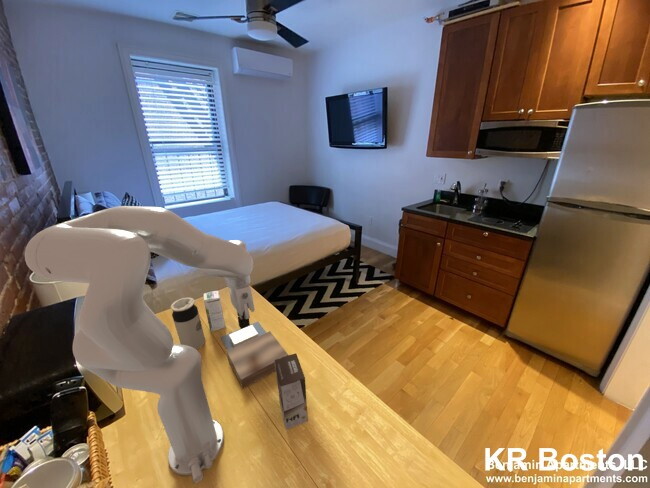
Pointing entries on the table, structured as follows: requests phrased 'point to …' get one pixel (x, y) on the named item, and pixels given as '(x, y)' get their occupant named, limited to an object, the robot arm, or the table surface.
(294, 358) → the coffee box
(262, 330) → the mat
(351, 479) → the table surface
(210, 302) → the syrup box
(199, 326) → the travel mug
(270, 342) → the brown stand
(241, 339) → the white block
